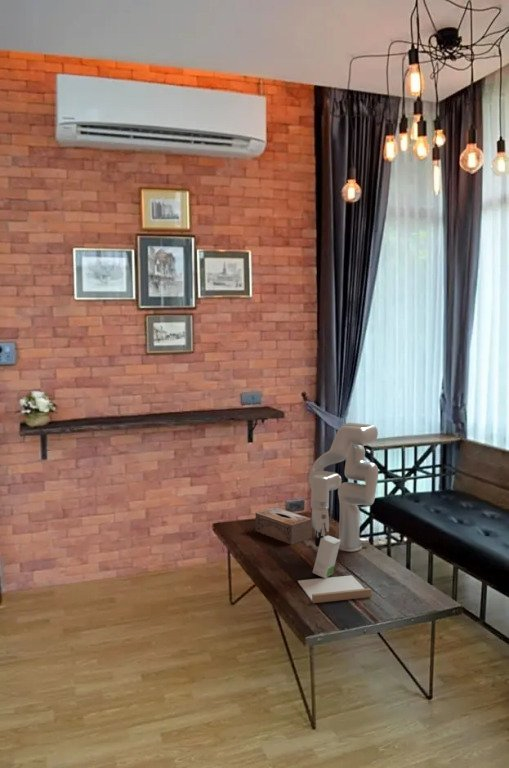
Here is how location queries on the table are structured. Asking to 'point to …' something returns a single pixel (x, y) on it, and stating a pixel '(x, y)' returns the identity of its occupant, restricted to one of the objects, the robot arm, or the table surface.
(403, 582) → the table surface
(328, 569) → the skincare box
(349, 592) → the white flat piece
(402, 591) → the table surface
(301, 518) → the tissue box cover
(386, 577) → the table surface
